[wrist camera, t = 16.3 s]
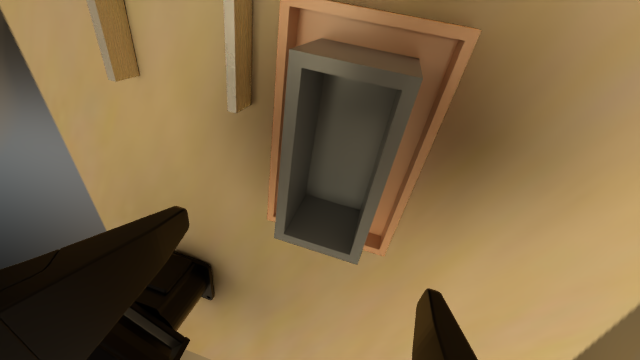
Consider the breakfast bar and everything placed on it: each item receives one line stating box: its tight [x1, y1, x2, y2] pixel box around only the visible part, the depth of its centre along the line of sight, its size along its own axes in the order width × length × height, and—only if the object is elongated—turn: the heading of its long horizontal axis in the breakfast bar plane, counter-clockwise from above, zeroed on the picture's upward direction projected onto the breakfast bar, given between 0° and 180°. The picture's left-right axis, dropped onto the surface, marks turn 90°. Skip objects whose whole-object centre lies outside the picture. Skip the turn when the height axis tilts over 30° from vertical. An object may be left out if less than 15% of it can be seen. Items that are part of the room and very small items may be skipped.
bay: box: [87, 0, 252, 113], centre depth 17 cm, size 8×10×2 cm
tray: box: [267, 0, 482, 256], centre depth 18 cm, size 15×9×2 cm, turn 171°
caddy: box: [274, 38, 423, 265], centre depth 16 cm, size 11×5×5 cm, turn 171°
